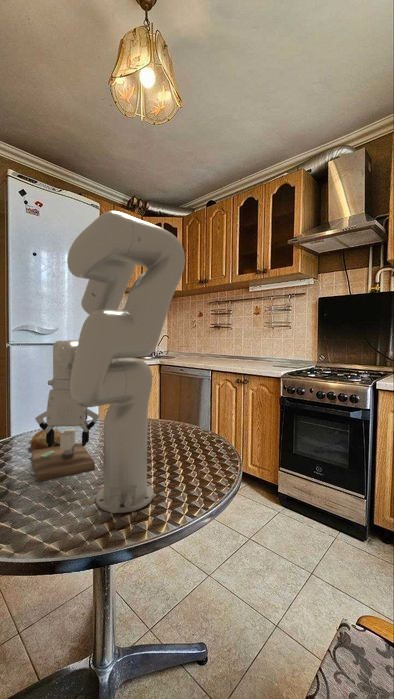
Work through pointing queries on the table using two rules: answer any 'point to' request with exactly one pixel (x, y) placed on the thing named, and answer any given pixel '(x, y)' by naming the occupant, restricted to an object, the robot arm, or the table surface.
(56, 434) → the bread roll
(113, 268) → the robot arm
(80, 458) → the brown wooden flat board
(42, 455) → the dial marks
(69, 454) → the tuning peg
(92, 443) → the table surface
